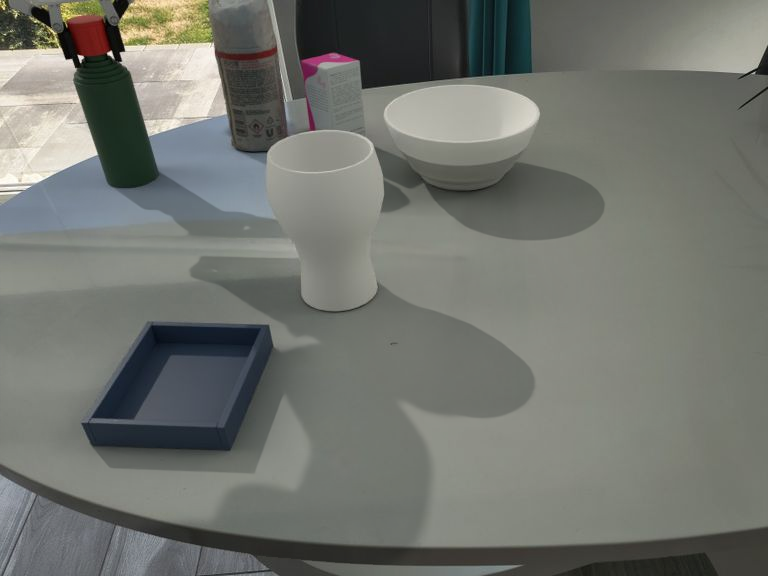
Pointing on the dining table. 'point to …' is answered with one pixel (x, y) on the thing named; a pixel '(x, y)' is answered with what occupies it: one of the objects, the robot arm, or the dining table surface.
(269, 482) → the dining table surface
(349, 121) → the supplement box
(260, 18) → the spray can
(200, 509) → the dining table surface
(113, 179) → the sauce bottle
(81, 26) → the cap
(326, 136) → the cup
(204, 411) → the tray
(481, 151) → the bowl
